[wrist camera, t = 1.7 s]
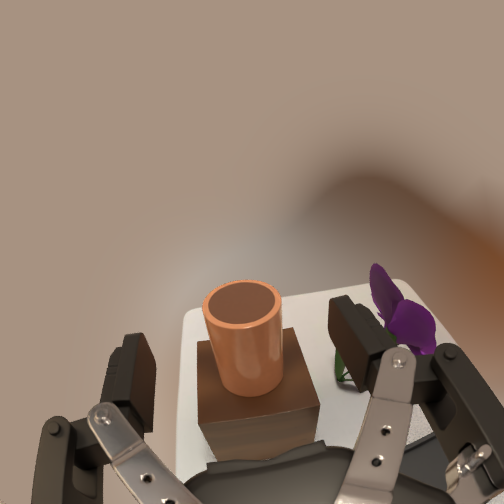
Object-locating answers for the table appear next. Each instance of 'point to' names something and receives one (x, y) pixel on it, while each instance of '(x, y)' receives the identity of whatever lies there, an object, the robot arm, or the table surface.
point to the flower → (397, 318)
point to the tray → (426, 462)
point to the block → (257, 409)
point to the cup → (246, 336)
